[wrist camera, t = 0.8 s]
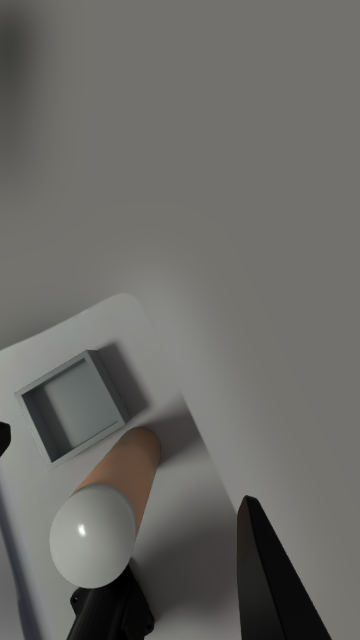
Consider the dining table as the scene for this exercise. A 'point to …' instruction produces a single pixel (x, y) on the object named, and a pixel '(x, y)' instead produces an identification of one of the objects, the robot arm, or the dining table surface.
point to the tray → (72, 408)
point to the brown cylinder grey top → (106, 512)
